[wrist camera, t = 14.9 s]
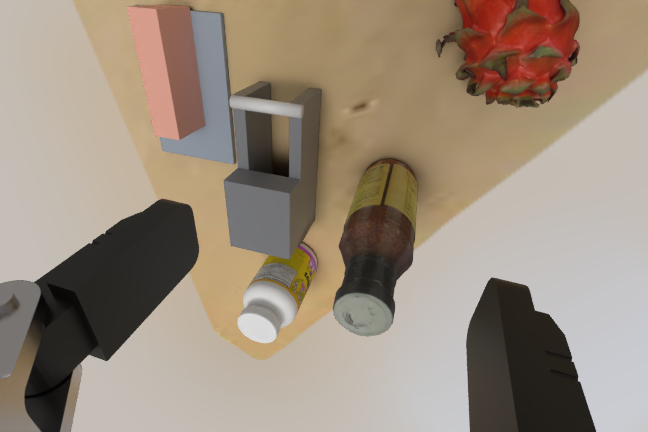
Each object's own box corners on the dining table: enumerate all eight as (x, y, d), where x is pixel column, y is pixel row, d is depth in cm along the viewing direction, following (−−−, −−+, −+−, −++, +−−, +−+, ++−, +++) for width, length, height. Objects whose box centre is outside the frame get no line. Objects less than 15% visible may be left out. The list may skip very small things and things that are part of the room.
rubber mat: (136, 5, 37) (132, 5, 37) (223, 13, 35) (220, 13, 34) (165, 149, 46) (162, 151, 45) (236, 162, 44) (233, 164, 43)
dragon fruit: (529, 99, 33) (457, -14, 31) (637, 46, 25) (548, -107, 24) (477, 147, 30) (395, 24, 28) (582, 105, 22) (476, -68, 21)
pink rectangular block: (163, 4, 36) (126, 6, 32) (189, 6, 35) (155, 9, 31) (182, 121, 42) (155, 136, 38) (205, 125, 42) (179, 140, 38)
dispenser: (259, 81, 38) (215, 103, 30) (321, 89, 36) (289, 114, 29) (264, 209, 46) (231, 250, 39) (314, 219, 45) (289, 263, 38)
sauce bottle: (358, 200, 42) (304, 333, 26) (366, 151, 38) (309, 268, 22) (414, 212, 41) (395, 359, 24) (427, 162, 37) (414, 295, 21)
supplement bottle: (311, 283, 51) (277, 358, 41) (269, 264, 51) (225, 334, 41) (325, 250, 47) (291, 324, 37) (279, 230, 48) (233, 297, 37)
